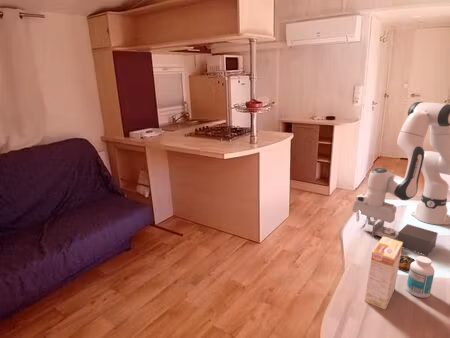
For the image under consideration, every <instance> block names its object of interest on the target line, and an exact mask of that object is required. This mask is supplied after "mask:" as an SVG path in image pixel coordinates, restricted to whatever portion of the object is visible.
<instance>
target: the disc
mask: <svg viewBox="0 0 450 338" xmlns="http://www.w3.org/2000/svg"><path fill="white" fill-rule="evenodd" d="M384 227H385V228H382V233H384V234H387V235H390V236H394V235H395V233H396V231H395V230H396V229H394V228H391V227H386V226H384Z"/></svg>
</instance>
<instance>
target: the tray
mask: <svg viewBox="0 0 450 338" xmlns="http://www.w3.org/2000/svg"><path fill="white" fill-rule="evenodd" d="M384 225H385V221H382V220H379V221H378V222H377V223H375V225H374V226H372V232H371V237H372V238H374V237H376V236H378V237H381V238H382V237H383V236H384V237H388V238H390V239H394V240H398V234H399V231H400V230H396V229H394V230H395V231H396V233H395V235H394V236H390V235H387V234H384V233H382V228H385V227H386V226H384Z"/></svg>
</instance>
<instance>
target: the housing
mask: <svg viewBox="0 0 450 338" xmlns="http://www.w3.org/2000/svg"><path fill="white" fill-rule="evenodd" d="M398 231H399V234H398V240H397V241H401V242H403V246H402V249H406V250H409V251H411V252H414V251H416V252H415V253H417V252H419V253H418V254H420V253H422V254H421V255H423V254H424V255H423V256H425V257H426V256H429V255H430V253H431V252H432V251H433V250H434V249H435V247H436V243H437V239H438V238H437V237H438V233H439V232H437V231H433V230H430V229H429V230H428V229H425V228H422V227H419V226H415V225H412V224H408V223H407V224H405V226H403V228H401V229H400V230H398Z"/></svg>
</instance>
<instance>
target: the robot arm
mask: <svg viewBox="0 0 450 338" xmlns="http://www.w3.org/2000/svg"><path fill="white" fill-rule="evenodd" d="M428 129H429V146H431V148H433V150H424V141H425V139H426V135H427V133H428ZM397 136H398V137H397V140H396V143H397V146H398V148H399V149H400V151H401V152H402V153H404V154H405V156H406V157H407V160H408V162H407V166H406V171H405V173H404V174H405V175H404V177H402V176H400V175H397V174H394V173H391V172H390V171H388V169H386V168H383V167H381V168H380V167H376V168H373V169H371V171H370V173H369V175H368V178H367V179H368V180H367V190H366V193H360V194H358V195H357V196H356V197H355V201H353V205H352V212H354V213H356V212H357V211H358V210H360V211H361V214H360V215H363V216H366V219H367V225H369V226H372V227H373V226H374V225H376V222H377V221H378V220H379V221H381V220H382V221H384V222H386V223H393V222H394V221H395V219H396V212H397V207H396V206H395V205H394V204H393V203H389V202H385V201H386V194H387V193H388V194H391V195H393V196H395V197H396V198H398V199H400V200H401V201H409V200H412V199H413V198H414V197H415V196H416V195H417V194H418V188H419V179H420V176H421V173H422V175H423V179H424V185H423V191H422V194H421V196H420V197H421V198H420V201H418V202H417V204H416V206H415V211H414V212H411V214H410V215H411V216H413V217H414V218H415V219H417V220H418V221H421V222H423V223H426V224H430V225H437V226H438V225H445V226H449V225H450V215H449V214H448V208H447V203H448V202H447V201H448V198H447V196H448V192H449V183H448V182H447V181H446V180H445V179H444V178H442V176H441V174H443V175H447V176H450V104H448V103H447V104H446V103H441V102H431V101H430V102H429V101H428V102H427V101H417V102H413V104H411V105H410V106H409V108H408V110H407V117H406V119H405V120H404V123H403V124H402V127H401V129H400V131H399V134H398V135H397ZM434 150H435V151H434ZM356 214H357V213H356ZM371 218H373V220H371Z"/></svg>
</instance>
